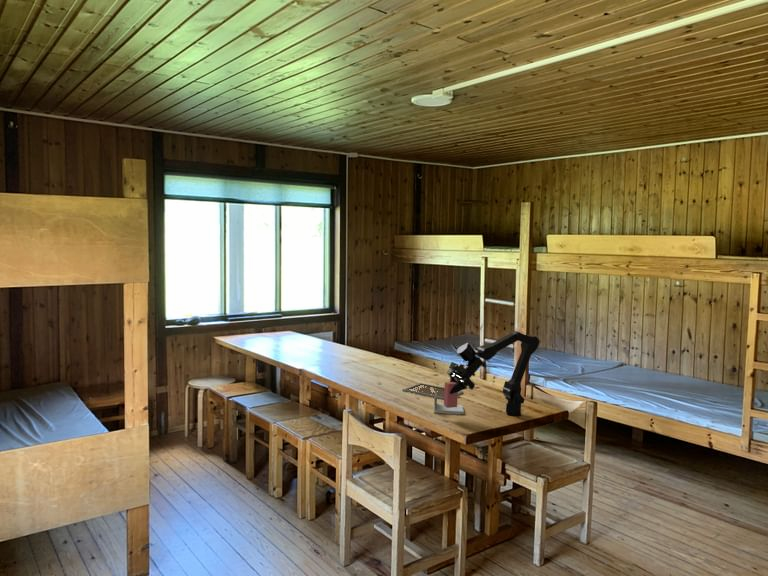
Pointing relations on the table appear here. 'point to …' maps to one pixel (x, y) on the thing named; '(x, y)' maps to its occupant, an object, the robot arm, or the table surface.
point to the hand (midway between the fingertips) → (448, 392)
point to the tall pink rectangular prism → (450, 395)
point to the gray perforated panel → (429, 391)
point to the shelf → (442, 409)
